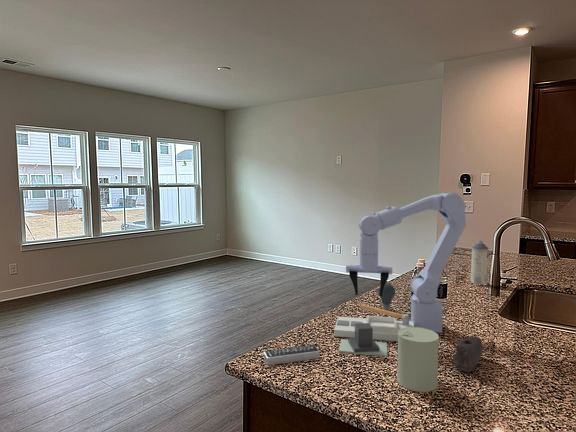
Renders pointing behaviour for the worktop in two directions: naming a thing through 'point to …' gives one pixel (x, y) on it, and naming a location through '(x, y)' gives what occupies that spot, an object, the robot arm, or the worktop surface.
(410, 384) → the can
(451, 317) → the worktop surface
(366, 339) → the plug
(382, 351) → the mat
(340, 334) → the white panel
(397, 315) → the hammer
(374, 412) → the worktop surface
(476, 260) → the aerosol can
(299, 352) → the multiport hub
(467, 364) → the perforated stone tool
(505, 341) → the worktop surface
